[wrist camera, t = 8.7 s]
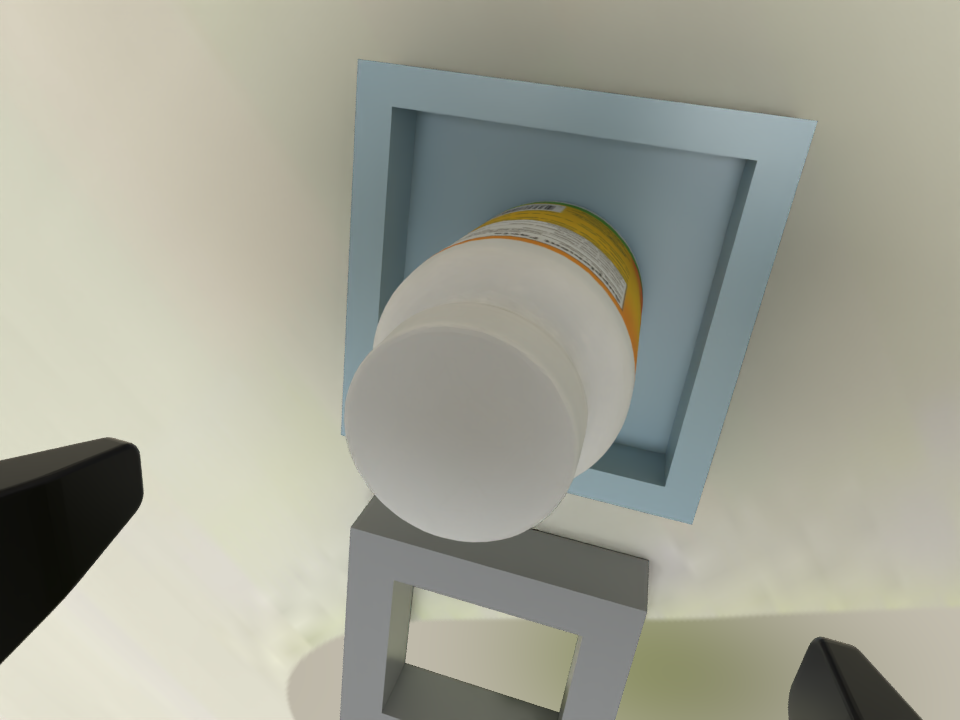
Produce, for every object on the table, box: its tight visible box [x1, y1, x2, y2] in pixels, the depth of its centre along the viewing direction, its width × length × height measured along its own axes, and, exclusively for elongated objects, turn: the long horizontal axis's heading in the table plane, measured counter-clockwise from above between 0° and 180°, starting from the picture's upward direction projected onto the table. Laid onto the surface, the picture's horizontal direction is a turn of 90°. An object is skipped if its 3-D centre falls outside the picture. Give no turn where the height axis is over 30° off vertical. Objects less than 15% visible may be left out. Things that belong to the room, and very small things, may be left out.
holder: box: [340, 495, 649, 720], centre depth 24 cm, size 10×10×2 cm
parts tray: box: [341, 59, 818, 525], centre depth 19 cm, size 11×11×2 cm
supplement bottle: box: [344, 201, 643, 542], centre depth 15 cm, size 5×5×10 cm
